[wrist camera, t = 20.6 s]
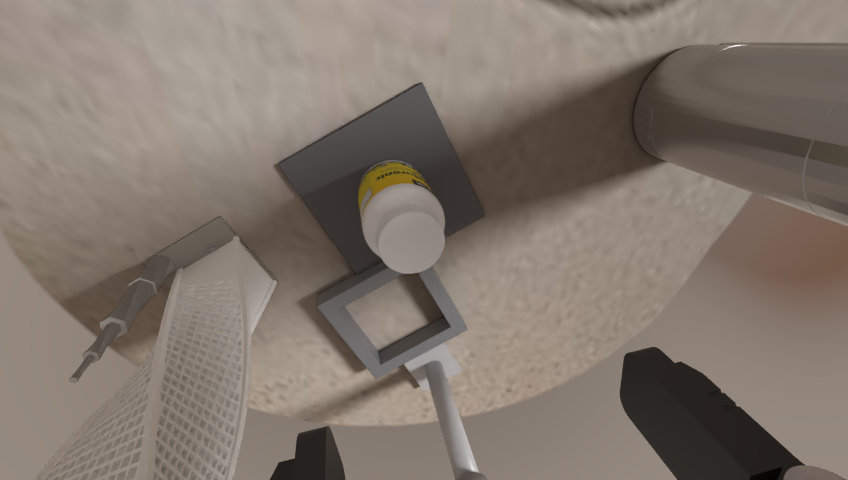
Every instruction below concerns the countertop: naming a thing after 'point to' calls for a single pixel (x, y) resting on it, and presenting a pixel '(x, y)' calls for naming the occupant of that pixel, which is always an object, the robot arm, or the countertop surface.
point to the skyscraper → (177, 369)
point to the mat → (369, 145)
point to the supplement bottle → (401, 217)
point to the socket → (409, 350)
